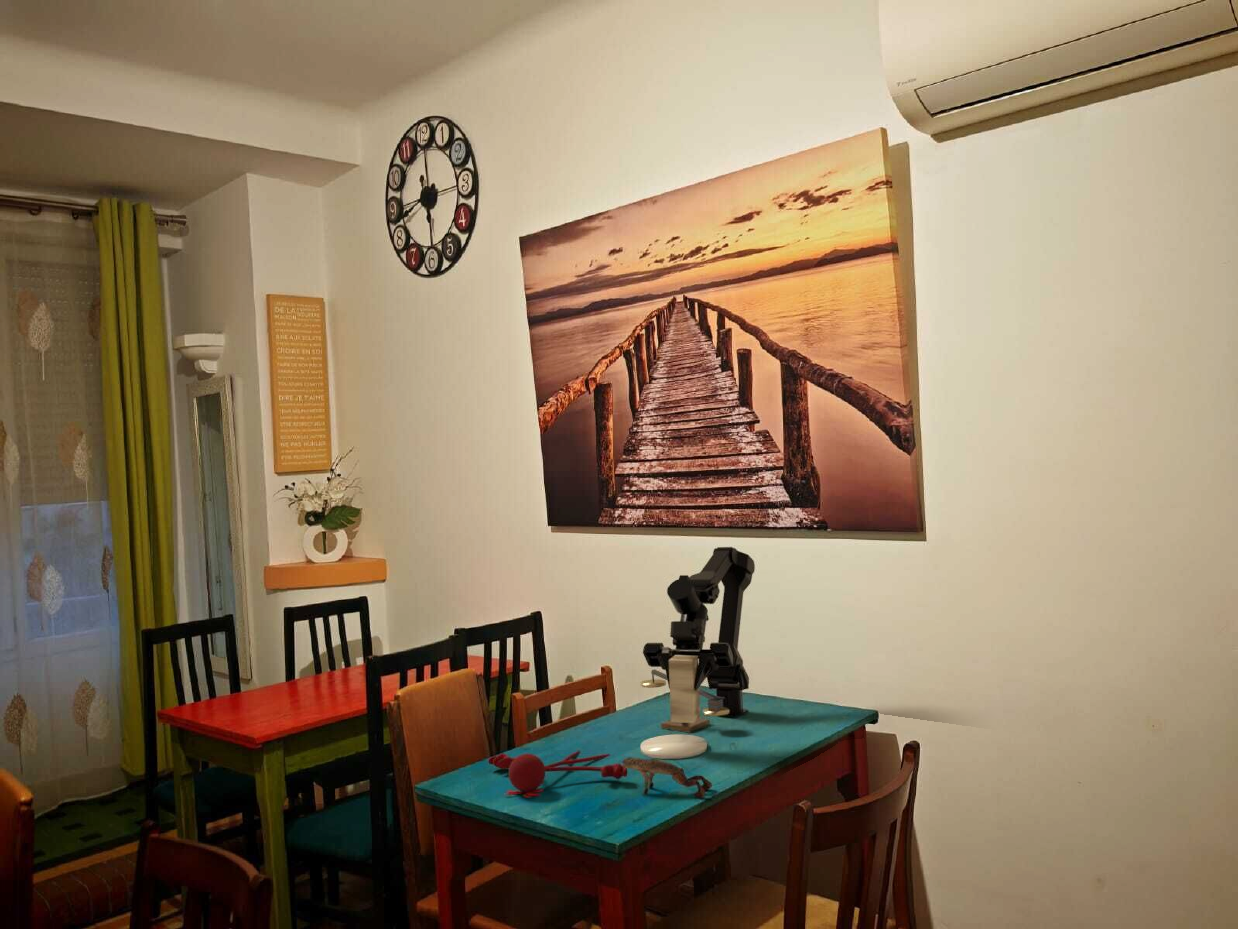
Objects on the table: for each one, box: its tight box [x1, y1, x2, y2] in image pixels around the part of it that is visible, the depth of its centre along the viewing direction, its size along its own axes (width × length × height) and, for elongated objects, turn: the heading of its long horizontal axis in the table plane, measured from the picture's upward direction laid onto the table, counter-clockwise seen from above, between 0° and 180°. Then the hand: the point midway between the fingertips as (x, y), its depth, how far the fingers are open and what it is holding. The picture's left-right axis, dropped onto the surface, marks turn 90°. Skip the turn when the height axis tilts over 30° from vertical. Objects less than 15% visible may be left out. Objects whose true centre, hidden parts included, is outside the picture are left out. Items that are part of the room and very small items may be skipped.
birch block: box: [669, 655, 701, 723], centre depth 215 cm, size 5×5×13 cm
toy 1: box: [487, 750, 628, 798], centre depth 205 cm, size 32×8×30 cm
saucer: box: [640, 734, 708, 760], centre depth 217 cm, size 14×14×1 cm
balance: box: [640, 669, 729, 734], centre depth 235 cm, size 8×23×12 cm, turn 50°
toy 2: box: [621, 756, 713, 799], centre depth 190 cm, size 6×9×16 cm
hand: (682, 689), depth 214 cm, fingers closed on birch block, 5 cm apart
